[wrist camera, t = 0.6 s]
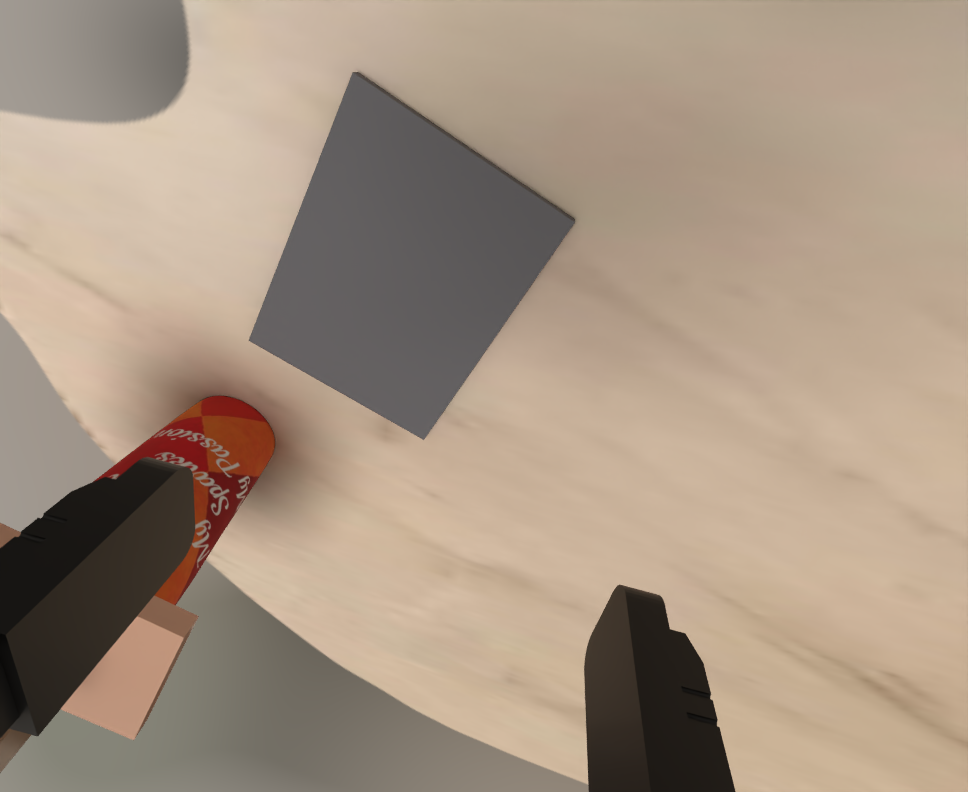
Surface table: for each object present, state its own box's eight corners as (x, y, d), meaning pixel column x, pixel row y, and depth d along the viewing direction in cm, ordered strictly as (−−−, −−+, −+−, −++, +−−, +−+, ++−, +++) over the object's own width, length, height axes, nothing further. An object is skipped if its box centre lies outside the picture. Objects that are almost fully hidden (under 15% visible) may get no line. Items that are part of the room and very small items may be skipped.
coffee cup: (316, 447, 37) (178, 648, 24) (244, 496, 40) (92, 694, 28) (218, 355, 34) (6, 529, 21) (151, 416, 38) (-66, 596, 25)
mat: (357, 72, 25) (352, 72, 24) (575, 219, 27) (574, 222, 26) (253, 336, 33) (248, 340, 33) (426, 434, 35) (423, 439, 34)
